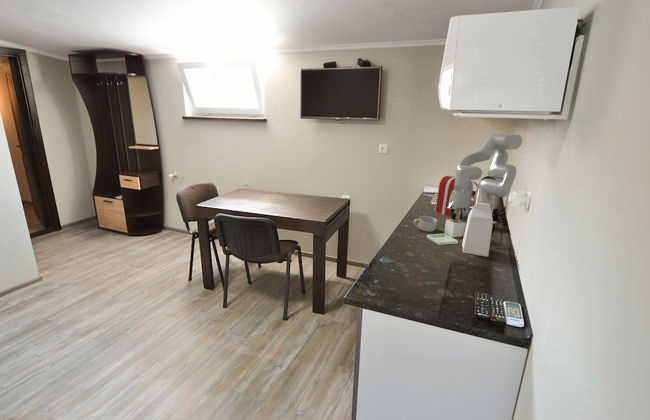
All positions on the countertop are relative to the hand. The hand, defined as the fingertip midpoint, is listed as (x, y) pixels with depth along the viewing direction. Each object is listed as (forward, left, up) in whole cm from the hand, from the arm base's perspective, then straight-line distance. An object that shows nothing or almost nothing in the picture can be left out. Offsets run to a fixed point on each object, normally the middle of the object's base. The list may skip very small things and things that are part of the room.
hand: (456, 218), depth 190 cm
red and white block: (-30, -42, -11) cm, 53 cm away
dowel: (0, 0, -9) cm, 9 cm away
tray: (+13, +7, -10) cm, 18 cm away
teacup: (+13, -11, -11) cm, 20 cm away
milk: (+3, +22, -11) cm, 25 cm away
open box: (0, 0, -10) cm, 10 cm away
